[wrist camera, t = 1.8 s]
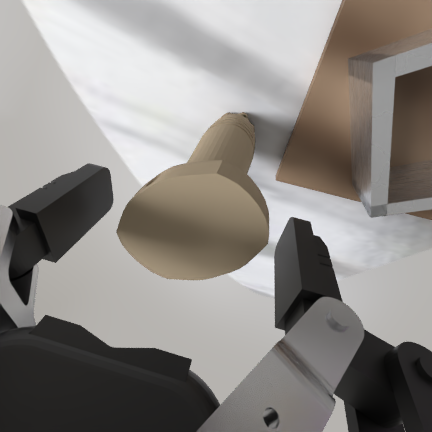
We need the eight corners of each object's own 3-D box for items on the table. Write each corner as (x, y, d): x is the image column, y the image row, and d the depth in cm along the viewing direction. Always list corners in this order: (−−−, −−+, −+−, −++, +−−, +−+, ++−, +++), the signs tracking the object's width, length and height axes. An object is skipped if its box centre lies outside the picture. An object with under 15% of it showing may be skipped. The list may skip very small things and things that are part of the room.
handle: (281, 132, 20) (291, 253, 8) (222, 166, 23) (170, 290, 11) (253, 80, 18) (215, 142, 6) (193, 125, 21) (95, 223, 10)
